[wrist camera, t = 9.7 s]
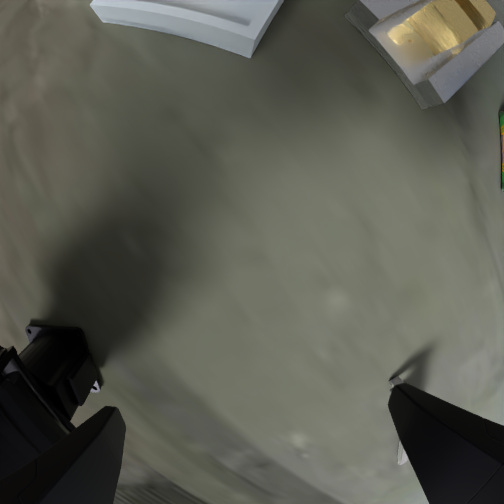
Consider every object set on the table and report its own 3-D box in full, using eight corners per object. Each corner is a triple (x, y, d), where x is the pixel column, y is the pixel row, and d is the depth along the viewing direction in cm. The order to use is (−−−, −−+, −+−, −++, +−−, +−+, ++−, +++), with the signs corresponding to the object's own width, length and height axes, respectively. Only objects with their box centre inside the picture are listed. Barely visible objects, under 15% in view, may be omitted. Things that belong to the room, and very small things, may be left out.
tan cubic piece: (435, 55, 17) (463, 42, 13) (406, 19, 16) (430, 1, 12) (452, 42, 16) (478, 30, 12) (425, 9, 15) (449, -6, 11)
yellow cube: (466, 36, 16) (490, 26, 12) (439, 7, 15) (462, -7, 11) (473, 23, 16) (495, 13, 12) (449, -5, 15) (469, -17, 11)
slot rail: (422, 109, 19) (444, 103, 16) (344, 16, 16) (358, -1, 13) (493, 42, 17) (509, 36, 14) (441, -24, 15) (455, -33, 12)
